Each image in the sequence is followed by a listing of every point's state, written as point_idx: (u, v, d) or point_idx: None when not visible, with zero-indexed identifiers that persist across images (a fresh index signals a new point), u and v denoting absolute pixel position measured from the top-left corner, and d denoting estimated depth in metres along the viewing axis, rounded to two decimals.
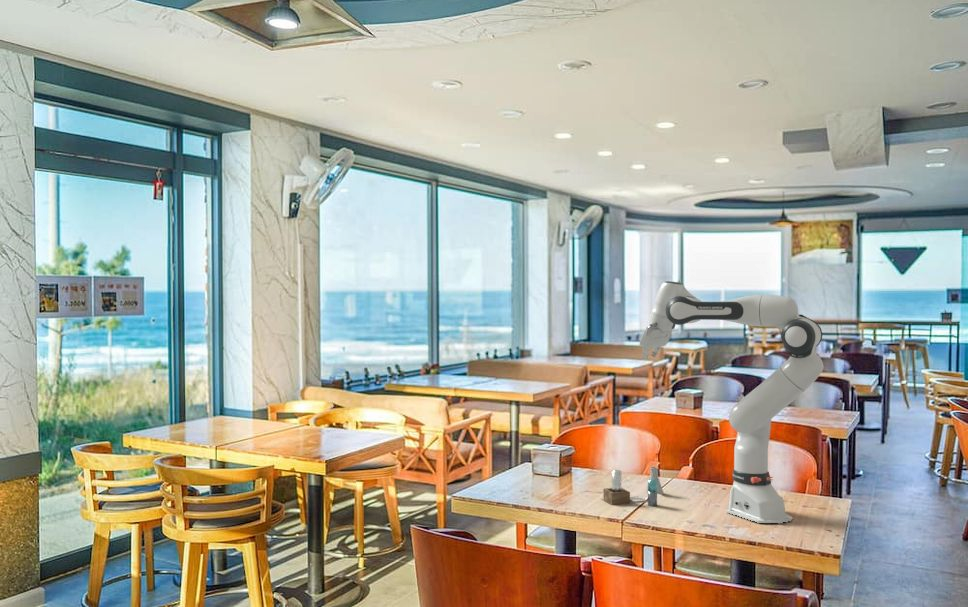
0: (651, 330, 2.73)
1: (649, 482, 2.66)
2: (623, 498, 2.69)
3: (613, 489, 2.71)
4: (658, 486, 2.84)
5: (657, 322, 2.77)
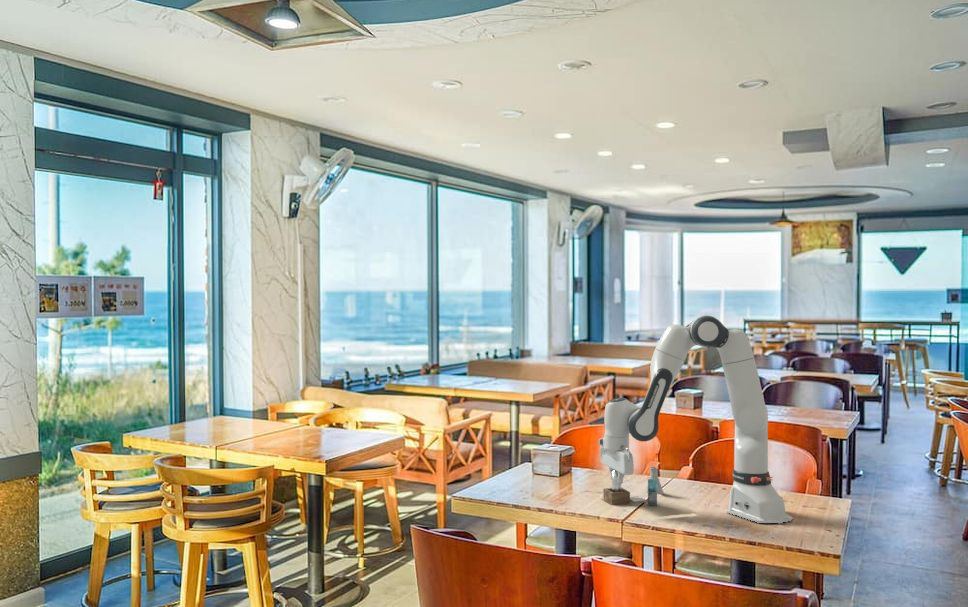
0: None
1: (649, 482, 2.66)
2: (623, 498, 2.69)
3: (613, 489, 2.71)
4: (658, 486, 2.84)
5: (623, 444, 2.68)
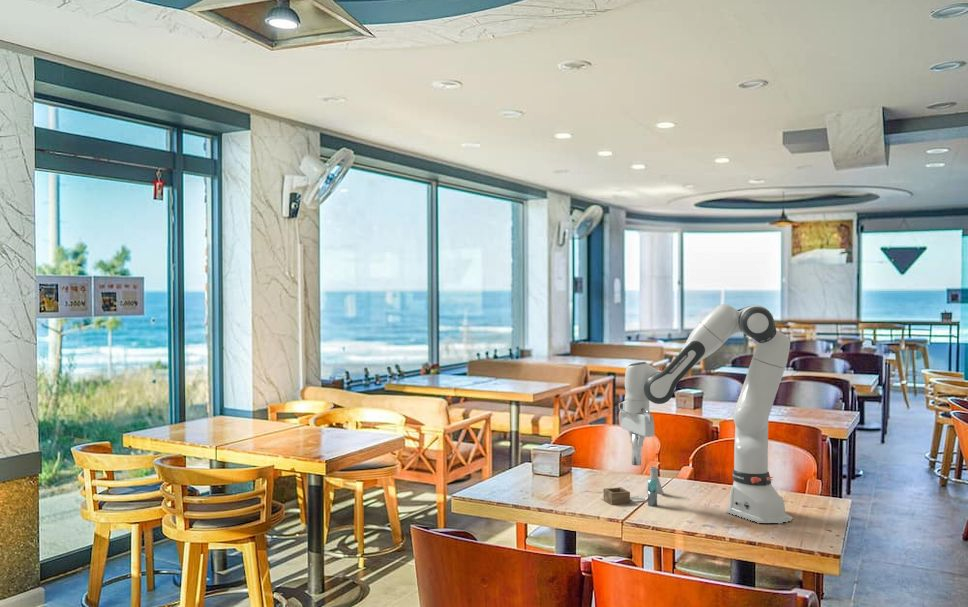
0: None
1: (649, 482, 2.66)
2: (623, 498, 2.69)
3: (633, 452, 2.73)
4: (658, 486, 2.84)
5: (643, 407, 2.70)
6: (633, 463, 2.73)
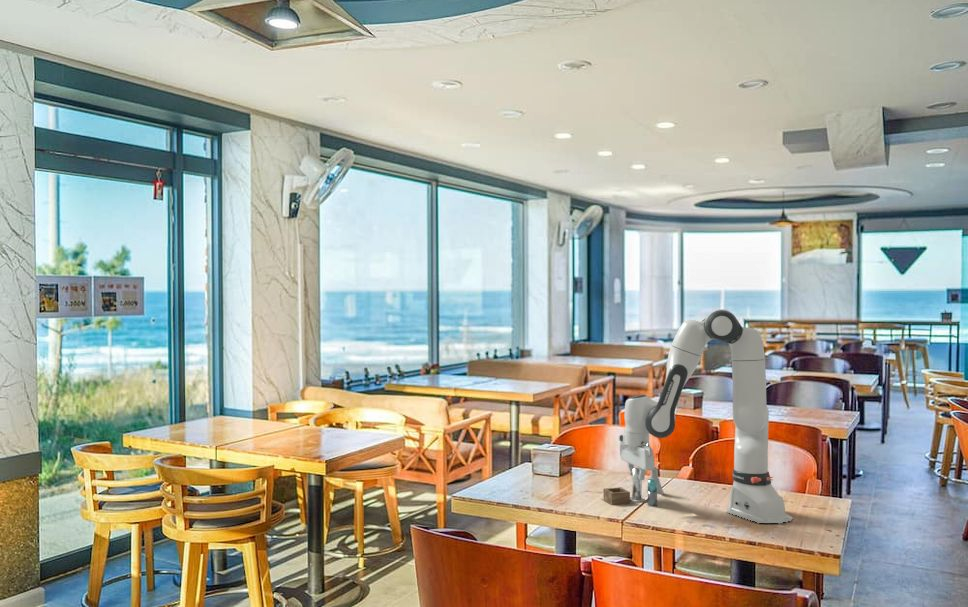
0: None
1: (649, 482, 2.66)
2: (623, 498, 2.69)
3: (633, 486, 2.73)
4: (658, 486, 2.84)
5: (643, 440, 2.70)
6: (633, 498, 2.73)
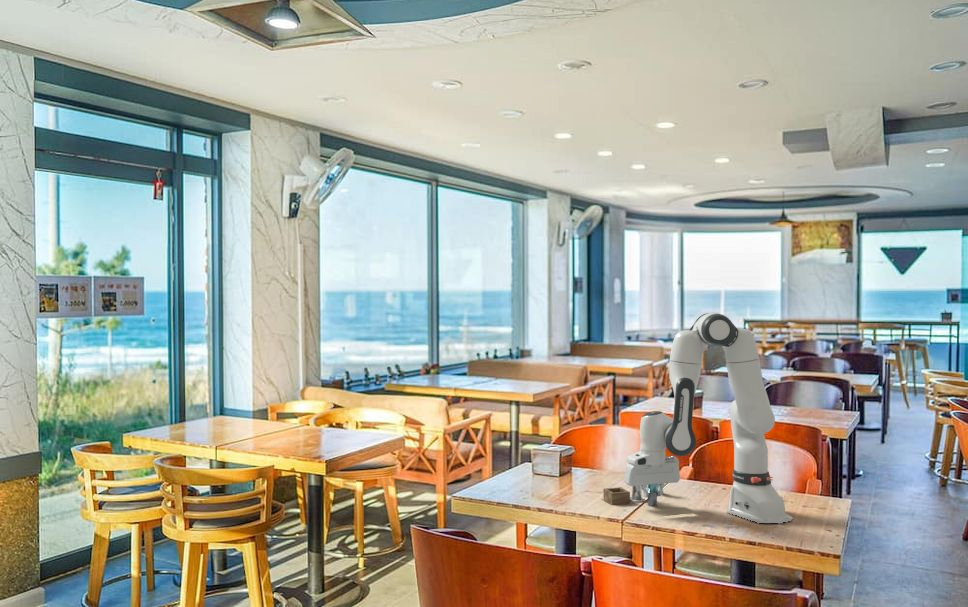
0: None
1: None
2: (623, 498, 2.69)
3: (633, 486, 2.73)
4: (658, 486, 2.84)
5: None
6: (633, 497, 2.73)
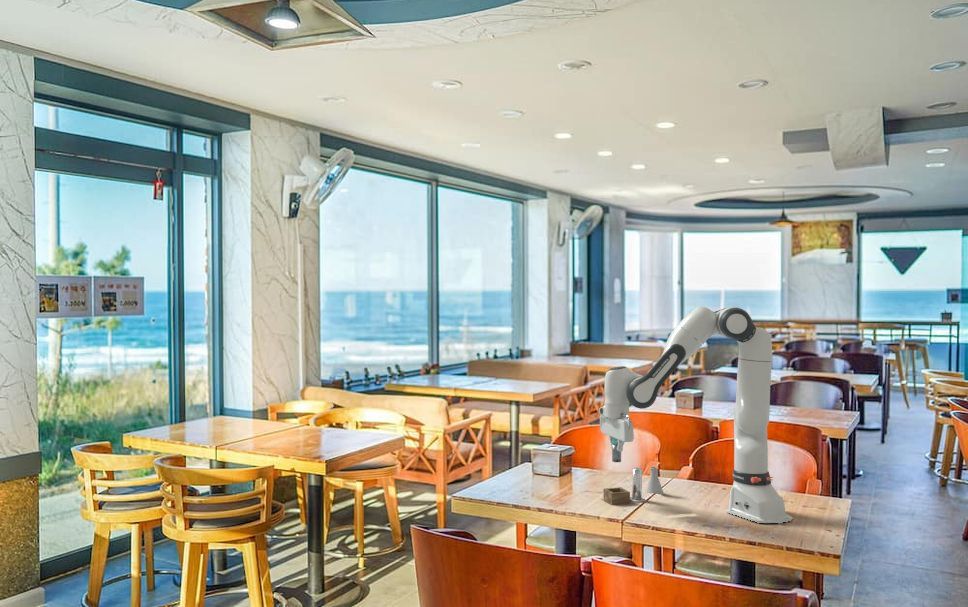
0: None
1: None
2: (623, 498, 2.69)
3: (633, 487, 2.73)
4: (658, 486, 2.84)
5: (623, 412, 2.68)
6: (633, 497, 2.73)
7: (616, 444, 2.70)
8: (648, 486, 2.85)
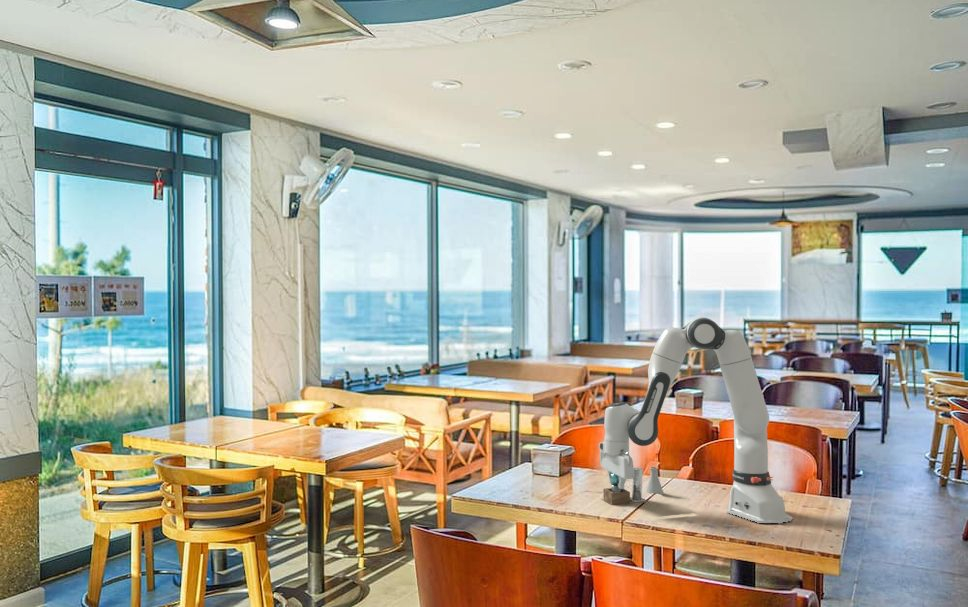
0: None
1: None
2: (623, 498, 2.69)
3: (633, 486, 2.73)
4: (658, 486, 2.84)
5: (623, 448, 2.68)
6: (633, 497, 2.73)
7: (615, 484, 2.70)
8: (648, 486, 2.85)
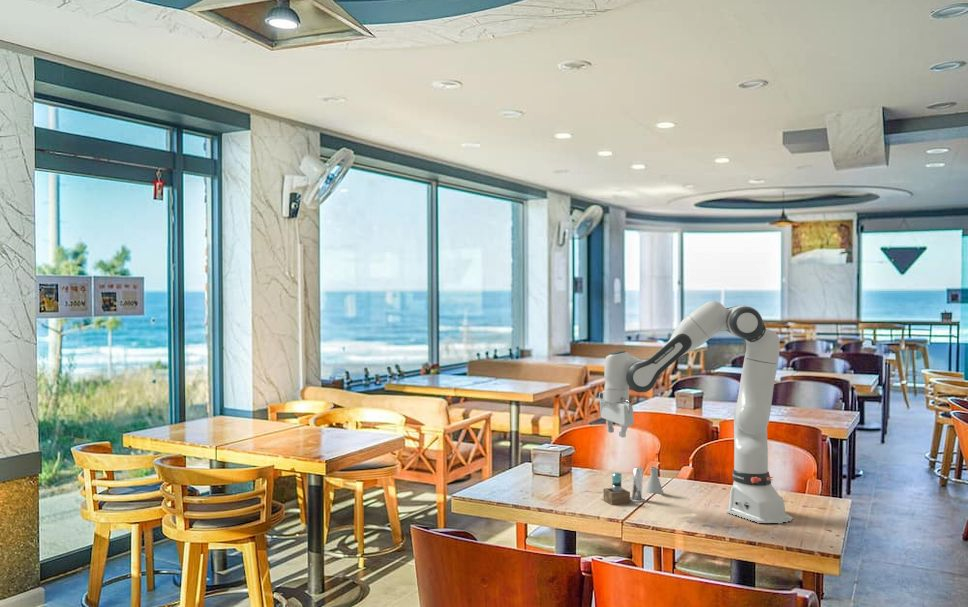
0: None
1: None
2: (623, 498, 2.69)
3: (633, 486, 2.74)
4: (658, 486, 2.84)
5: (623, 396, 2.68)
6: (633, 497, 2.73)
7: (616, 484, 2.70)
8: (648, 486, 2.85)
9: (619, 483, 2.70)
